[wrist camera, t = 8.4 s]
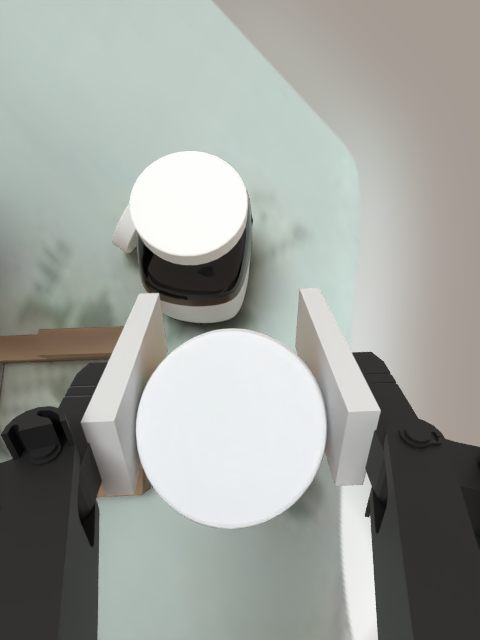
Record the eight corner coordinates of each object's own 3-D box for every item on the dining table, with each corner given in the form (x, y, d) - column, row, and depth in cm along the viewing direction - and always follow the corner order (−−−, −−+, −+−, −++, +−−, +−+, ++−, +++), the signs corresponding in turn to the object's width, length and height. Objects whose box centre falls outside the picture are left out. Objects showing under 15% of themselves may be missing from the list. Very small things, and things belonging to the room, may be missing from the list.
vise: (150, 487, 28) (140, 496, 25) (-33, 495, 28) (-65, 505, 25) (153, 333, 31) (144, 325, 28) (-13, 339, 30) (-39, 332, 28)
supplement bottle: (163, 378, 17) (76, 336, 8) (271, 346, 18) (311, 269, 8) (192, 496, 16) (129, 615, 7) (308, 459, 16) (404, 521, 7)
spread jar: (244, 334, 31) (250, 289, 20) (111, 324, 31) (41, 273, 20) (253, 207, 34) (262, 105, 23) (132, 199, 34) (80, 92, 23)
